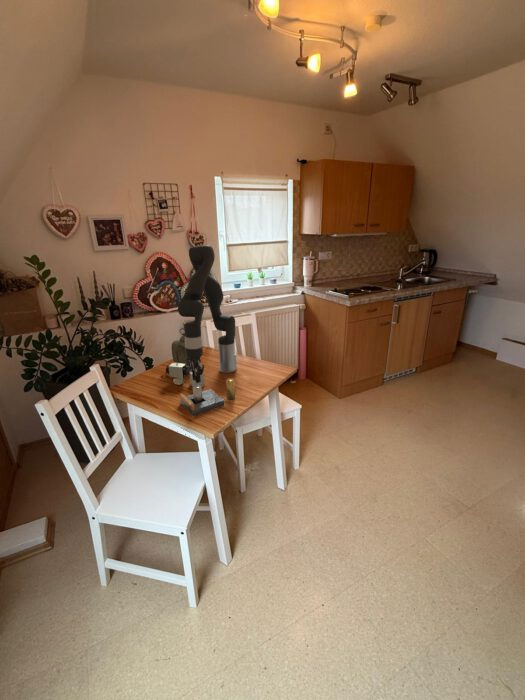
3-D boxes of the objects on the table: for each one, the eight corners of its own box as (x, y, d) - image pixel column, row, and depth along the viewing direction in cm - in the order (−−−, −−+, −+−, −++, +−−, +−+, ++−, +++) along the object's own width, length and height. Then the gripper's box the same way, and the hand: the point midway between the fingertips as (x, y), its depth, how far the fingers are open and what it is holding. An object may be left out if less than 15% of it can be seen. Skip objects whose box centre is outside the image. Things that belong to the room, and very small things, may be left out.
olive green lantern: (200, 369, 192) (197, 328, 183) (189, 374, 185) (185, 332, 176) (184, 363, 199) (180, 324, 191) (172, 368, 193) (168, 328, 184)
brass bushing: (232, 395, 161) (231, 377, 157) (236, 399, 158) (236, 380, 154) (225, 398, 159) (224, 379, 155) (229, 401, 156) (228, 382, 152)
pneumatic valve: (187, 386, 170) (185, 365, 166) (167, 384, 172) (164, 363, 168) (191, 381, 175) (189, 361, 171) (171, 380, 178) (169, 359, 173)
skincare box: (200, 381, 176) (199, 369, 173) (205, 386, 171) (204, 373, 168) (190, 384, 173) (189, 372, 170) (194, 389, 168) (193, 376, 165)
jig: (210, 394, 162) (210, 385, 161) (224, 405, 152) (224, 396, 150) (180, 403, 154) (179, 394, 152) (193, 416, 143) (192, 406, 141)
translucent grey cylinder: (200, 402, 154) (199, 384, 151) (204, 406, 151) (202, 387, 148) (192, 405, 152) (191, 386, 148) (196, 409, 149) (194, 389, 145)
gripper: (208, 348, 138) (211, 384, 144) (195, 339, 148) (197, 373, 154) (192, 351, 134) (195, 389, 140) (179, 342, 144) (182, 377, 150)
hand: (196, 380), depth 147 cm, fingers closed
